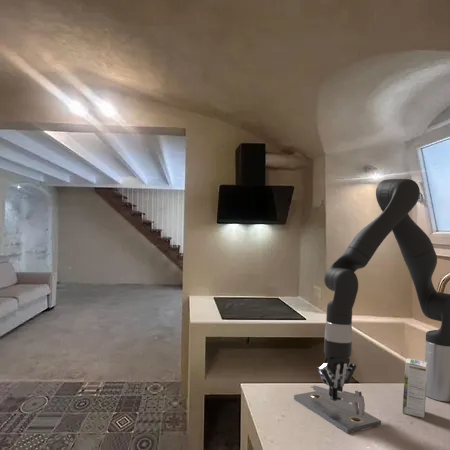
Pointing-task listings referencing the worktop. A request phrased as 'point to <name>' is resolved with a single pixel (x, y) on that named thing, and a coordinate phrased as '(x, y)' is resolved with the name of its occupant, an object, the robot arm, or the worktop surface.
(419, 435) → the worktop surface
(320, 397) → the hole plate
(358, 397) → the caliper
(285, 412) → the worktop surface
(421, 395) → the syrup box
